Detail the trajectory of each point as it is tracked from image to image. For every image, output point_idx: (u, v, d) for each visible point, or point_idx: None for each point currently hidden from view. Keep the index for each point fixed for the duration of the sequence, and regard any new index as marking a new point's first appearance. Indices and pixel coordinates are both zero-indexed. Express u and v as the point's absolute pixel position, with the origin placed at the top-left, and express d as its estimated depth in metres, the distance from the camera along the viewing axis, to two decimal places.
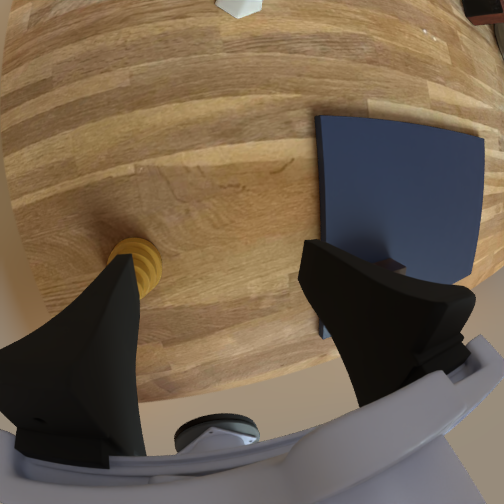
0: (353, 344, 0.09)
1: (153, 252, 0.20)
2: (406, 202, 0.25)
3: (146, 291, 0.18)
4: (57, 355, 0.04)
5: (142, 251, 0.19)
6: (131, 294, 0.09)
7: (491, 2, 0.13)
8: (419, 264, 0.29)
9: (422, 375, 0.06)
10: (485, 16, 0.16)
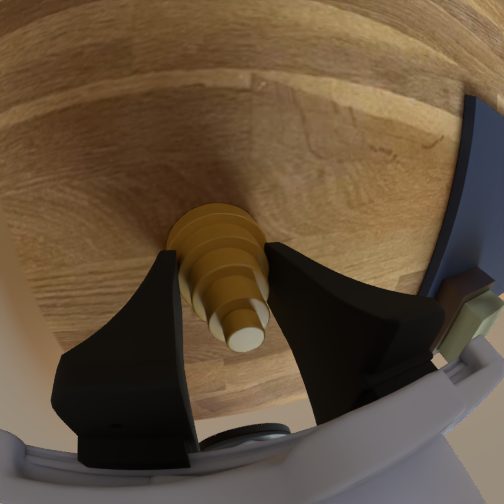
0: (308, 355, 0.08)
1: (262, 235, 0.11)
2: (503, 212, 0.18)
3: None
4: (147, 353, 0.04)
5: (247, 232, 0.11)
6: (178, 290, 0.09)
7: None
8: (490, 274, 0.22)
9: (374, 399, 0.05)
10: None
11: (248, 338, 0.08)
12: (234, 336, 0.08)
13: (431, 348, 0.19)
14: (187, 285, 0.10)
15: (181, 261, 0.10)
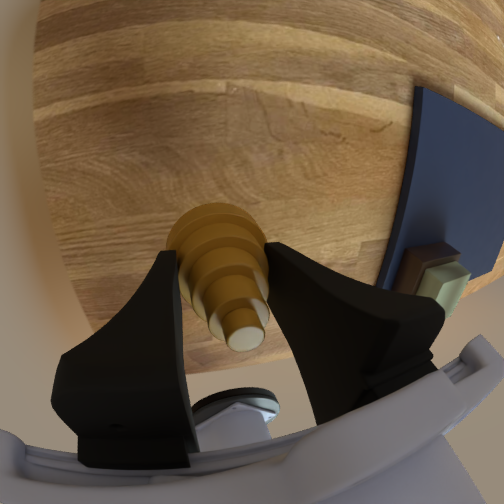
0: (308, 355, 0.08)
1: (262, 235, 0.11)
2: (467, 191, 0.22)
3: None
4: (147, 353, 0.04)
5: (247, 232, 0.11)
6: (178, 290, 0.09)
7: None
8: (461, 252, 0.27)
9: (374, 399, 0.05)
10: None
11: (248, 338, 0.08)
12: (234, 335, 0.08)
13: None
14: (187, 285, 0.10)
15: (181, 261, 0.10)
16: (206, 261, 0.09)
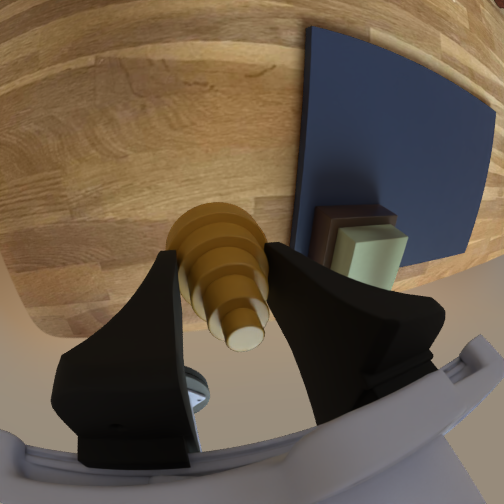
0: (308, 355, 0.08)
1: (262, 235, 0.11)
2: (404, 145, 0.21)
3: None
4: (147, 353, 0.04)
5: (247, 231, 0.11)
6: (178, 290, 0.09)
7: None
8: (411, 222, 0.26)
9: (374, 399, 0.05)
10: None
11: (248, 338, 0.08)
12: (233, 335, 0.08)
13: None
14: (186, 284, 0.10)
15: (180, 260, 0.10)
16: (206, 261, 0.09)
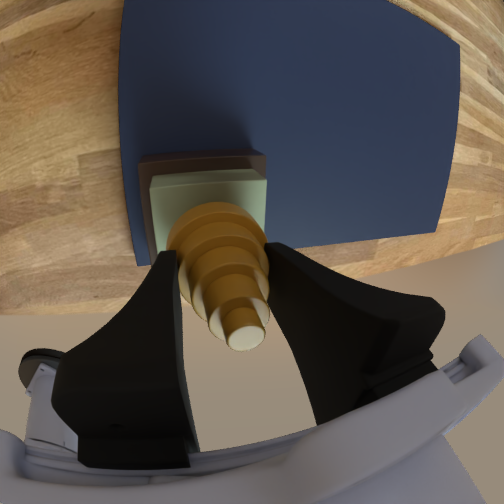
0: (308, 355, 0.08)
1: (262, 234, 0.11)
2: (284, 64, 0.14)
3: None
4: (147, 353, 0.04)
5: (247, 231, 0.11)
6: (178, 290, 0.09)
7: None
8: (324, 177, 0.19)
9: (374, 399, 0.05)
10: None
11: (249, 337, 0.08)
12: (234, 335, 0.08)
13: (150, 259, 0.16)
14: (187, 284, 0.10)
15: (181, 260, 0.10)
16: (206, 260, 0.09)
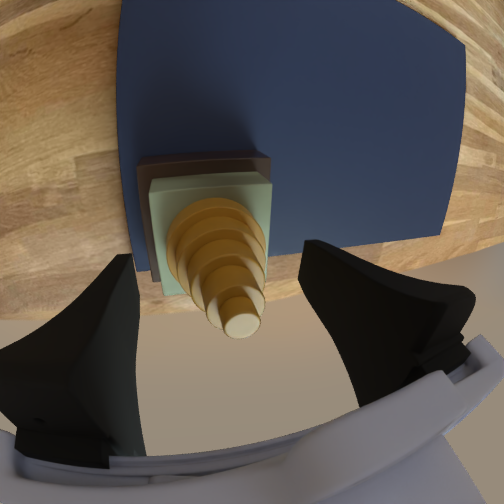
0: (353, 343, 0.09)
1: (259, 229, 0.12)
2: (289, 63, 0.14)
3: None
4: (57, 355, 0.04)
5: (244, 225, 0.11)
6: (131, 294, 0.09)
7: None
8: (329, 180, 0.19)
9: (422, 375, 0.06)
10: None
11: (245, 325, 0.08)
12: (230, 322, 0.08)
13: (150, 265, 0.16)
14: (186, 276, 0.11)
15: (180, 252, 0.10)
16: (204, 252, 0.10)
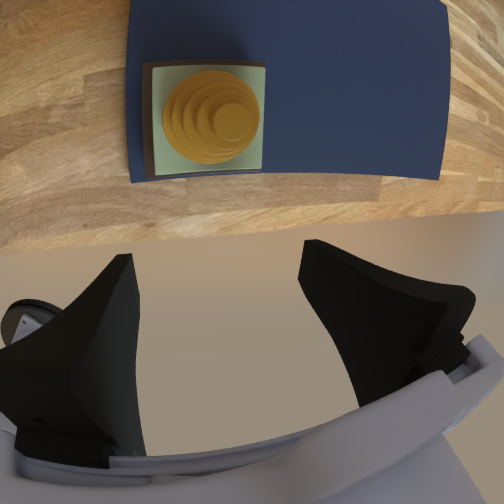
0: (353, 343, 0.09)
1: (253, 95, 0.11)
2: (280, 0, 0.13)
3: None
4: (57, 355, 0.04)
5: None
6: (131, 294, 0.09)
7: None
8: (322, 101, 0.18)
9: (422, 375, 0.06)
10: None
11: (236, 120, 0.07)
12: (221, 114, 0.07)
13: (144, 161, 0.15)
14: (180, 121, 0.10)
15: (177, 98, 0.09)
16: None
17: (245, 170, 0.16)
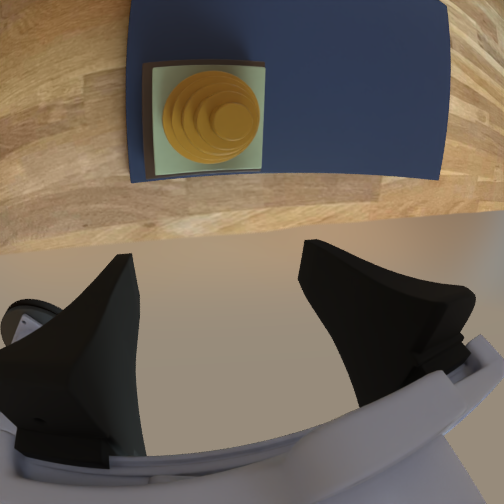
0: (353, 343, 0.09)
1: (253, 95, 0.11)
2: (280, 0, 0.13)
3: None
4: (57, 355, 0.04)
5: None
6: (131, 294, 0.09)
7: None
8: (322, 101, 0.18)
9: (422, 375, 0.06)
10: None
11: (236, 120, 0.07)
12: (221, 114, 0.07)
13: (144, 161, 0.15)
14: (180, 121, 0.10)
15: (177, 98, 0.09)
16: None
17: (245, 170, 0.16)
